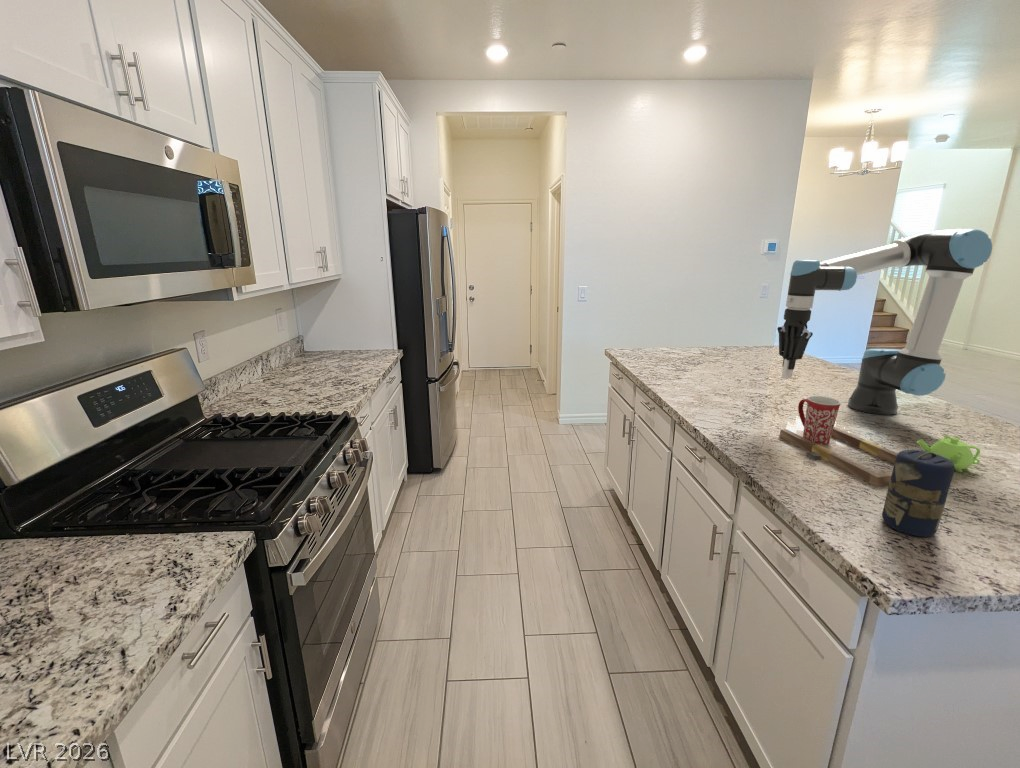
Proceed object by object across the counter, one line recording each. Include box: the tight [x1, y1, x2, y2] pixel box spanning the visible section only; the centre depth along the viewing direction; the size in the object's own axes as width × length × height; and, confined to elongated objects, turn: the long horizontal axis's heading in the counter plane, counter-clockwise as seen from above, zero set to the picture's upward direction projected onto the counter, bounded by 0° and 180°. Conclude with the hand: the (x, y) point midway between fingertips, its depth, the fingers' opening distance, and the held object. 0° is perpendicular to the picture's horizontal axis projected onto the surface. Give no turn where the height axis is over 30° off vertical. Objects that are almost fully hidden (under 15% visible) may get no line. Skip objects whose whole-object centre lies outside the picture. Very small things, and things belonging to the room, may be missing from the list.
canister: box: [882, 449, 955, 537], centre depth 102 cm, size 10×10×18 cm
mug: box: [797, 395, 842, 445], centre depth 151 cm, size 13×9×14 cm
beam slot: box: [779, 426, 899, 487], centre depth 140 cm, size 25×34×2 cm
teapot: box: [916, 436, 981, 473], centre depth 132 cm, size 11×12×8 cm
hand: (786, 377), depth 162 cm, fingers closed
